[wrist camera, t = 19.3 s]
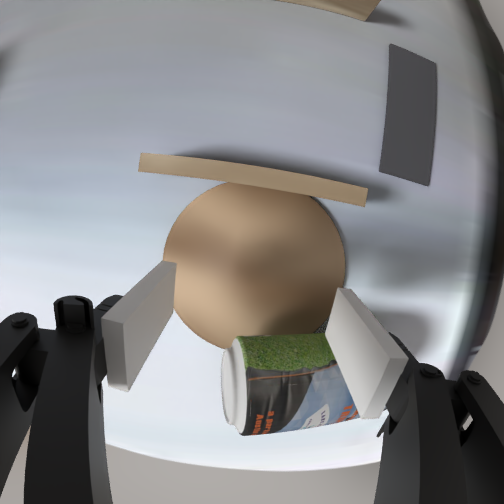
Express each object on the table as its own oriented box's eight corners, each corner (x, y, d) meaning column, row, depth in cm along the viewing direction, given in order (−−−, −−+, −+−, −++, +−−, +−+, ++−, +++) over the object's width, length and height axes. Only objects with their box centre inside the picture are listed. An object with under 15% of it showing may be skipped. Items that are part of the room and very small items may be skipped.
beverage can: (219, 421, 11) (434, 410, 12) (230, 294, 17) (408, 310, 18) (213, 440, 15) (380, 437, 17) (222, 344, 21) (368, 354, 22)
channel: (203, -14, 14) (195, -41, 11) (365, 12, 14) (381, -11, 11) (158, 173, 17) (138, 171, 14) (345, 202, 18) (364, 206, 14)
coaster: (174, 166, 17) (173, 166, 17) (360, 197, 18) (362, 198, 17) (160, 336, 20) (158, 338, 20) (320, 359, 21) (320, 361, 20)
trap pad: (389, 45, 15) (390, 43, 15) (433, 64, 15) (435, 63, 15) (378, 171, 17) (380, 171, 17) (426, 185, 17) (428, 186, 17)
